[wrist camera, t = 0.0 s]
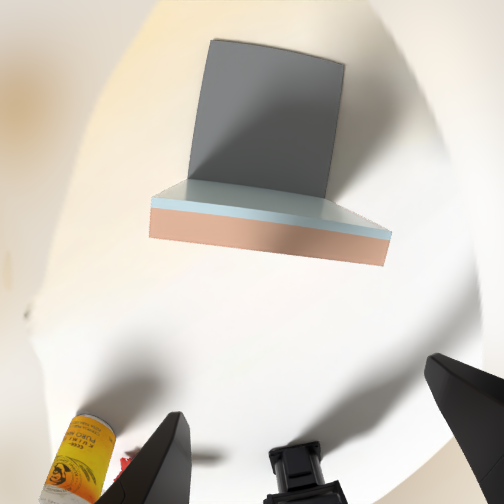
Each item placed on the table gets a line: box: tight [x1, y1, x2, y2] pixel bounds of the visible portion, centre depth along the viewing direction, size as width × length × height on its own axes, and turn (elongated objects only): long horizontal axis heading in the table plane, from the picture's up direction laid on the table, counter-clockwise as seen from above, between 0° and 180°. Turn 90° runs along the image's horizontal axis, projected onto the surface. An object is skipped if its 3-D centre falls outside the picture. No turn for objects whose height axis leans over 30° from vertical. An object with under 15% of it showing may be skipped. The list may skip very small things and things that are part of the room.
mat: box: [187, 40, 344, 198], centre depth 20 cm, size 13×10×1 cm
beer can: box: [39, 414, 116, 504], centre depth 21 cm, size 6×6×15 cm
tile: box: [149, 179, 392, 266], centre depth 16 cm, size 2×10×10 cm, turn 82°
